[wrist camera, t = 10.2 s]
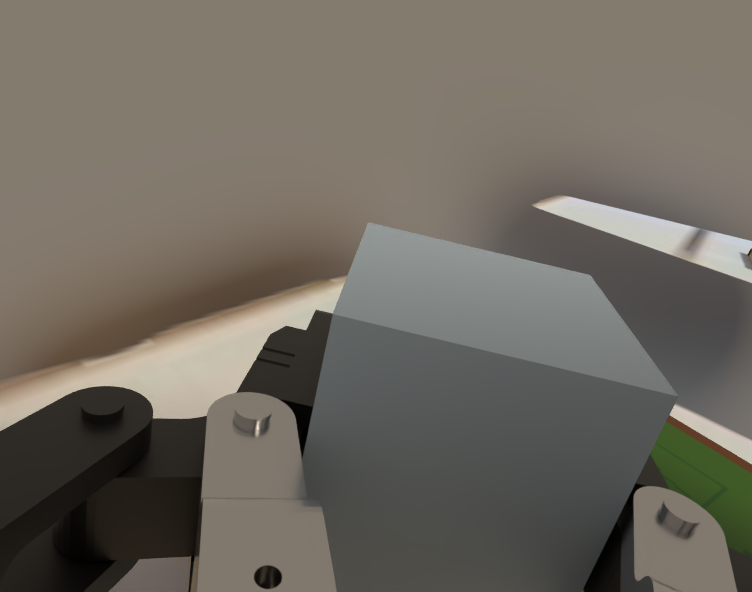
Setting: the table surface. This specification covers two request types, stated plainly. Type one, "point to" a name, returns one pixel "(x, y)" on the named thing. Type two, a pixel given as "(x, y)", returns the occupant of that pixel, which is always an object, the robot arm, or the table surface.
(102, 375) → the table surface
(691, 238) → the table surface
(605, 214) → the table surface
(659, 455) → the hardcover book
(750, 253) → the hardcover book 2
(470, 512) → the top brick
